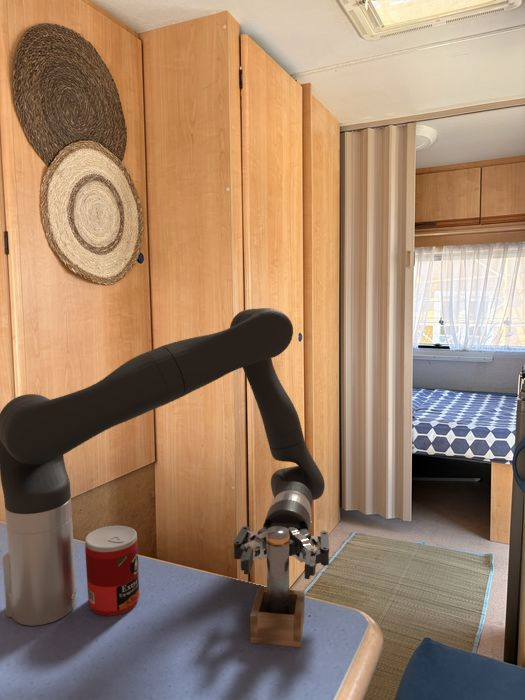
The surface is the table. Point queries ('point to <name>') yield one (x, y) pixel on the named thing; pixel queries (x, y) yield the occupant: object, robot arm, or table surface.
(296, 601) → the wooden masu cup
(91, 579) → the canned food
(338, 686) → the table surface
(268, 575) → the cylinder
